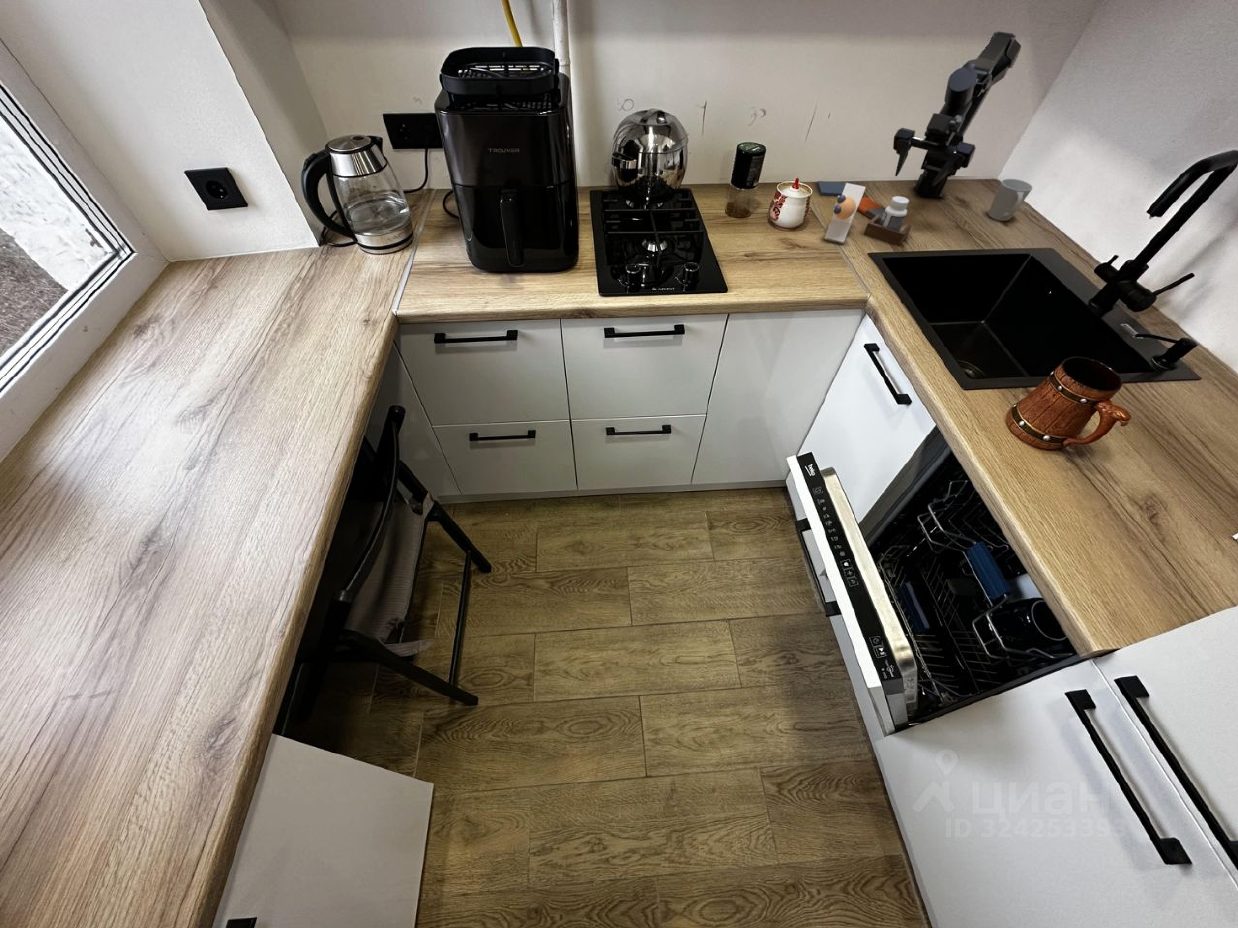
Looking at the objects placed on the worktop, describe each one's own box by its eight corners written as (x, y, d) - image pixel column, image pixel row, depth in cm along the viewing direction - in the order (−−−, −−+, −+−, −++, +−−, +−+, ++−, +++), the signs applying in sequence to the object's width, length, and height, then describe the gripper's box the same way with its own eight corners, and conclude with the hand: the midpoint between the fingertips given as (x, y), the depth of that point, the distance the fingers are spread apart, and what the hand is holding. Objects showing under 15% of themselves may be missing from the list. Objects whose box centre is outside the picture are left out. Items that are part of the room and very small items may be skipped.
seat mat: (857, 186, 158) (858, 183, 157) (862, 197, 152) (863, 195, 152) (817, 183, 158) (817, 181, 158) (820, 195, 153) (821, 192, 152)
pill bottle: (901, 235, 138) (916, 201, 131) (888, 241, 136) (903, 206, 129) (884, 227, 141) (898, 193, 134) (872, 232, 139) (885, 198, 132)
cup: (1008, 211, 148) (1027, 180, 142) (1020, 228, 142) (1040, 195, 135) (980, 209, 149) (997, 177, 142) (990, 225, 143) (1009, 193, 136)
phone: (866, 195, 150) (903, 218, 141) (864, 200, 151) (901, 223, 142) (848, 199, 148) (884, 222, 140) (846, 204, 149) (882, 227, 141)
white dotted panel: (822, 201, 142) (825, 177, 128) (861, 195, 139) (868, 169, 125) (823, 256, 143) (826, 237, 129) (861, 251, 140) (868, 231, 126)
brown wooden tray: (872, 225, 141) (877, 214, 139) (907, 236, 138) (912, 225, 135) (863, 234, 138) (867, 223, 136) (898, 245, 134) (903, 234, 132)
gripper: (913, 89, 126) (878, 152, 129) (996, 106, 118) (957, 173, 121) (910, 118, 136) (877, 177, 139) (986, 136, 129) (950, 197, 131)
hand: (913, 180), depth 132 cm, fingers open, 9 cm apart
